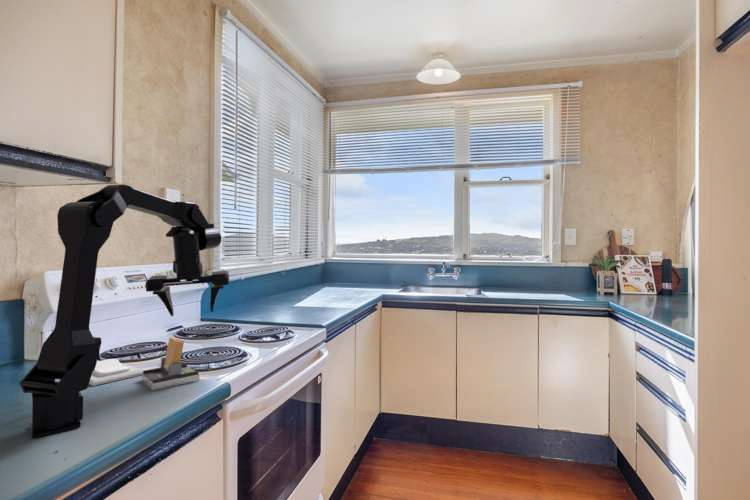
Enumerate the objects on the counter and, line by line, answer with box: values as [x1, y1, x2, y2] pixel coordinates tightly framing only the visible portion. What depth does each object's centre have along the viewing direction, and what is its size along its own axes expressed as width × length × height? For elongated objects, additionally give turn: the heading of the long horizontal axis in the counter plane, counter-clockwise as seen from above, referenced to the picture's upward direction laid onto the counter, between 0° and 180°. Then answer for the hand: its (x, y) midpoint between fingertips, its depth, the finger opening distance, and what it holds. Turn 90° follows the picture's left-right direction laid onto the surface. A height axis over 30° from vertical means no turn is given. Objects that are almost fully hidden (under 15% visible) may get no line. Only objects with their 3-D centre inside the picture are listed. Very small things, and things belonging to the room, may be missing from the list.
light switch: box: [89, 358, 144, 387], centre depth 97 cm, size 11×4×13 cm
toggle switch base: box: [141, 356, 200, 391], centre depth 93 cm, size 10×9×5 cm
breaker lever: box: [164, 337, 185, 372], centre depth 93 cm, size 2×5×8 cm, turn 43°
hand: (192, 313), depth 101 cm, fingers open, 9 cm apart
